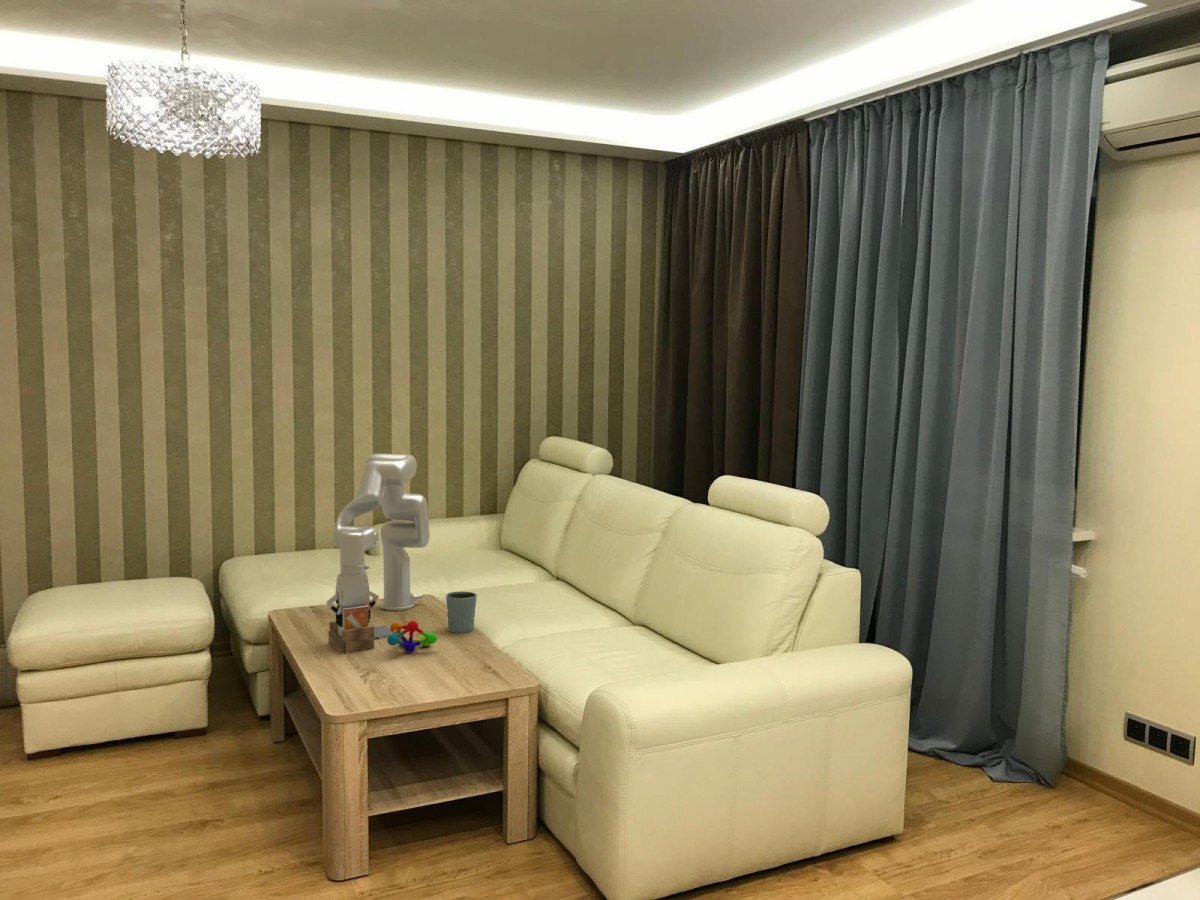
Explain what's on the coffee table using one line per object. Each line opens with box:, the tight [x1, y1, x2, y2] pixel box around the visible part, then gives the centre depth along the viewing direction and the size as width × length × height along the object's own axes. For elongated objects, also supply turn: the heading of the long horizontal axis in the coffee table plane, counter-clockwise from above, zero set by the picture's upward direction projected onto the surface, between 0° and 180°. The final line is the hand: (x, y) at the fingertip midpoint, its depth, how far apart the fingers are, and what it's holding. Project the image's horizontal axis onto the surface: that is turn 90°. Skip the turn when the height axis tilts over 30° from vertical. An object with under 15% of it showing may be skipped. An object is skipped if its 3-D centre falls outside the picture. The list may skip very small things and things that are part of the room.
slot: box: [327, 620, 375, 654], centre depth 326 cm, size 10×13×7 cm
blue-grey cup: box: [445, 591, 478, 634], centre depth 346 cm, size 10×10×12 cm
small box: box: [338, 604, 369, 637], centre depth 326 cm, size 8×6×13 cm
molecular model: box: [386, 620, 438, 653], centre depth 322 cm, size 15×10×15 cm
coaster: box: [374, 625, 397, 639], centre depth 340 cm, size 12×12×1 cm
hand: (353, 623), depth 326 cm, fingers closed on small box, 8 cm apart
